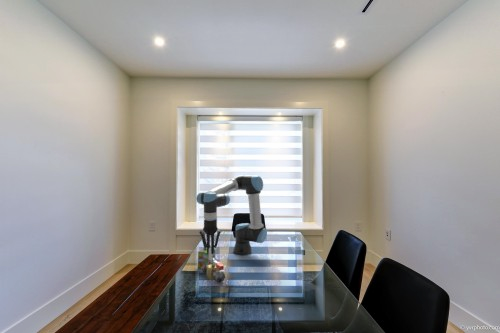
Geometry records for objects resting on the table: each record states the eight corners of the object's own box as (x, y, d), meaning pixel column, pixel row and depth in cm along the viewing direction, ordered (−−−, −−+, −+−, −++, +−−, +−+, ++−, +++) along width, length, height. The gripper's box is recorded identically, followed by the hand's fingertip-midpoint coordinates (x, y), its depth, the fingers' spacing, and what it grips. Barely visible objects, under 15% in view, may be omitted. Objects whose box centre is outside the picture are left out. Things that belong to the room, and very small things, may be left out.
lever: (209, 262, 141) (209, 258, 141) (214, 261, 143) (214, 257, 143) (219, 270, 130) (219, 266, 130) (224, 269, 132) (224, 265, 132)
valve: (201, 273, 146) (201, 260, 146) (210, 270, 150) (210, 257, 150) (215, 284, 132) (216, 269, 132) (225, 281, 136) (225, 266, 136)
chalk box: (197, 268, 152) (197, 247, 153) (203, 263, 161) (204, 243, 161) (209, 270, 150) (209, 248, 150) (215, 265, 159) (215, 244, 159)
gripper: (197, 220, 127) (197, 261, 127) (219, 220, 126) (219, 262, 126) (201, 217, 135) (201, 256, 135) (222, 217, 133) (222, 256, 134)
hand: (210, 259), depth 130 cm, fingers closed
